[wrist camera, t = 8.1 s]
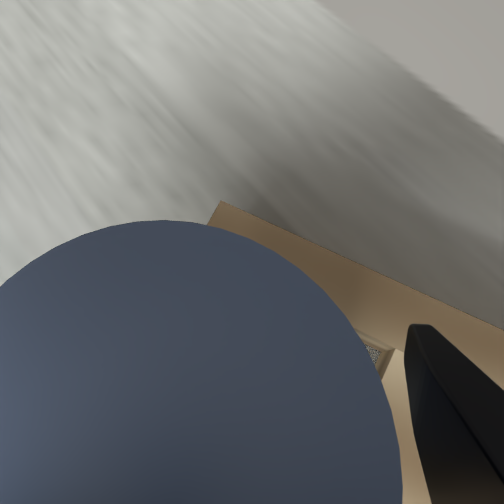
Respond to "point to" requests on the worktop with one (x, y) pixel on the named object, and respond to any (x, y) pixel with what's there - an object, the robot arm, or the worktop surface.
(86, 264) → the blue-grey cylinder
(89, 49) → the worktop surface
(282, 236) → the socket board
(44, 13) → the worktop surface
